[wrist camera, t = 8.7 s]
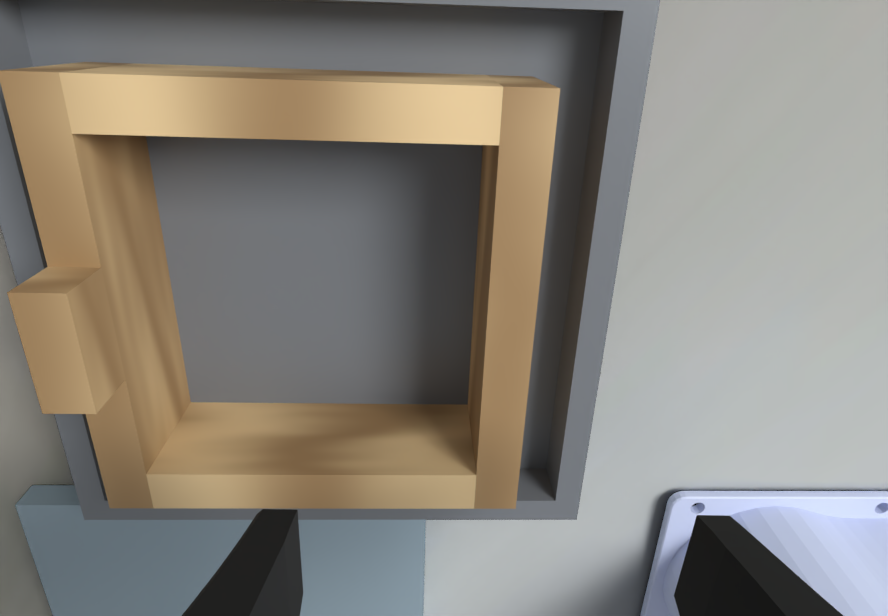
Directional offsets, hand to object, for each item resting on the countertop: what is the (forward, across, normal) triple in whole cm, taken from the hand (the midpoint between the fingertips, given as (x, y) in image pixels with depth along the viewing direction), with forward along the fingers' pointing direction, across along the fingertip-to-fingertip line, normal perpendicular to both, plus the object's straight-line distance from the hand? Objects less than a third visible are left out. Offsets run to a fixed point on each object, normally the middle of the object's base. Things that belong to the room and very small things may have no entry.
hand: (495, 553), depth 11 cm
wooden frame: (+9, +4, -2) cm, 10 cm away
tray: (+9, +4, -2) cm, 10 cm away
